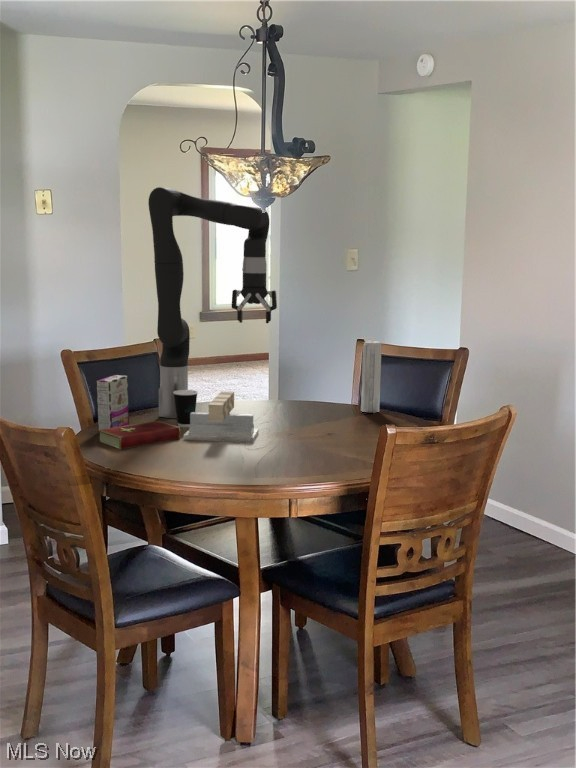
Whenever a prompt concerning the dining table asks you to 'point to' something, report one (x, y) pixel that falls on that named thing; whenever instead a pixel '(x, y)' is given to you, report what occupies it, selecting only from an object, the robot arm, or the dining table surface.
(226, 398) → the beech batten
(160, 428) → the hardcover book
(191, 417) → the ridge
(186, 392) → the dixie cup
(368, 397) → the air filter
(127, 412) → the candy bar box
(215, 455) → the dining table surface
